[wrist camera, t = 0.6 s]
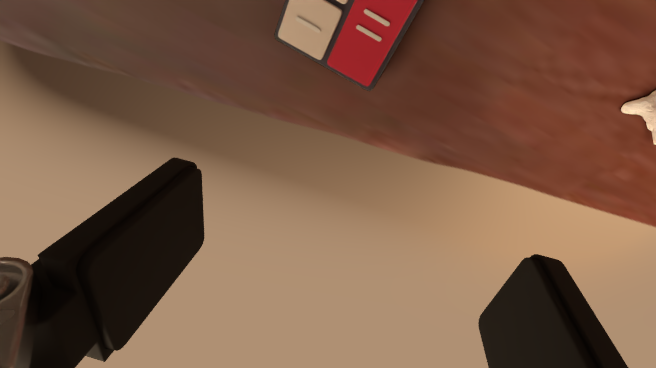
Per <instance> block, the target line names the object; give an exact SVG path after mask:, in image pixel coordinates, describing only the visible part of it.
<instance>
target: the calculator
mask: <svg viewBox="0 0 656 368" xmlns="http://www.w3.org/2000/svg"><path fill="white" fill-rule="evenodd" d="M423 1H424V0H285V3H284V6H283V9H282V12H281V15H280V18H279V21H278V24H277V28H276V31H275V34H274V36H275V39H276V40H277V41H279V42H281V43H283V44H284V45H286V46H288V47H290V48H292V49H293V50H295V51H297V52H299V53H301V54H302V55H304V56H306V57H308V58H310V59H311V60H313V61H315V62H317V63H318V64H320V65H322V66H324V67H326V68H327V69H329V70H331V71H333V72H335V73H336V74H338V75H340V76H342V77H344V78H345V79H347V80H349V81H351V82H352V83H354V84H356V85H358V86H360V87H361V88H363V89H365V90H367V91H371V90H372V89H373V88H374V86H375V85H376V83H377V81H378V79H379V78H380V76H381V74H382V73H383V71H384V69H385V67H386V66H387V64H388V62H389V60H390V59H391V57H392V55H393V53H394V52H395V50H396V48H397V47H398V45H399V43H400V41H401V40H402V38H403V36H404V34H405V33H406V31H407V29H408V27H409V26H410V24H411V22H412V21H413V19H414V17H415V15H416V14H417V12H418V10H419V8H420V7H421V5H422V3H423Z"/></svg>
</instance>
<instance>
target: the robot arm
mask: <svg viewBox="0 0 656 368" xmlns="http://www.w3.org/2000/svg"><path fill="white" fill-rule="evenodd" d="M203 220H204V219H203V195H202V174H201V171H200V169H197V166H196V164H195V163H193V162H190V161H186V160H182V159H179V158H172V159H170V160H169V161H167V162H166V163H165V164H163V165H162V166H161V167H159V168H158V169H156V170H155V171H153V172H152V173H151V174H149V175H148V176H146V177H145V178H144V179H142V180H141V181H140V182H138V183H137V184H135V185H134V186H133V187H131V188H130V189H128V190H127V191H126V192H124V193H123V194H122V195H120V196H119V197H117V198H116V199H115V200H113V201H112V202H110V203H109V204H108V205H106V206H105V207H104V208H102V209H101V210H99V211H98V212H97V213H95V214H94V215H92V216H91V217H90V218H88V219H87V220H86V221H84V222H83V223H81V224H80V225H79V226H77V227H76V228H74V229H73V230H72V231H70V232H69V233H68V234H66V235H65V236H63V237H62V238H60V239H59V240H58V241H56V242H55V243H53V244H52V245H51V246H49V247H48V248H47V249H45V250H44V251H42V252H41V253H40V254H39V255H38V257H39V259H38V260H37V261H36V262H34V263H33V264H31V265H30V264H29V263H28V262H27V261H24V260H22V259H19V258H11V257H3V258H0V368H75V367H76V366H77V365H78V363H79V362H80V361H81V360H82V359H83V358H84V356H88V357H91V358H94V359H97V360H101V361H104V362H105V361H106V360H107V358H108V357H109V356H110V355H111V353H112V352H113V351H114V350H120V349H121V348H122V347H123V346H124V345H125V344H126V343H127V342H128V340H129V339H130V338H131V337H132V335H133V334H134V333H135V331H136V330H137V329H138V328H139V326H140V325H141V324H142V322H143V321H144V320H145V319H146V317H147V316H148V315H149V314H150V312H151V311H152V310H153V308H154V307H155V306H156V305H157V303H158V302H159V301H160V299H161V298H162V297H163V296H164V294H165V293H166V292H167V290H168V289H169V288H170V286H171V285H172V284H173V283H174V281H175V280H176V279H177V278H178V276H179V275H180V274H181V272H182V271H183V270H184V269H185V267H186V266H187V265H188V263H189V262H190V261H191V260H192V258H193V257H194V255H195V254H196V253H197V252H198V251H199V249H200V248H201V246H202V244H203V241H204V221H203ZM479 330H480V334H481V338H482V342H483V346H484V350H485V354H486V358H487V362H488V366H489V368H628V367H627V365H626V364H625V362H624V360H623V359H622V357H621V356H620V354H619V352H618V351H617V349H616V347H615V346H614V344H613V343H612V341H611V339H610V338H609V336H608V335H607V333H606V332H605V330H604V328H603V327H602V325H601V323H600V322H599V320H598V319H597V317H596V316H595V314H594V312H593V311H592V309H591V308H590V306H589V304H588V303H587V301H586V299H585V298H584V296H583V295H582V293H581V291H580V290H579V288H578V287H577V285H576V283H575V282H574V280H573V279H572V277H571V276H570V274H569V272H568V271H567V269H566V267H565V266H564V264H563V263H562V262H561V261H559V260H556V259H553V258H549V257H545V256H542V255H538V254H534V255H532V256H531V257H530V258H524V259H523V260H522V261H521V263H520V264H519V266H518V267H517V268H516V269H515V271H514V272H513V273H512V275H511V276H510V277H509V279H508V280H507V281H506V283H505V284H504V285H503V286H502V288H501V289H500V291H499V292H498V293H497V294H496V296H495V297H494V298H493V300H492V301H491V302H490V303H489V305H488V306H487V307H486V309H485V310H484V311H483V313H482V314H481V316H480V318H479Z"/></svg>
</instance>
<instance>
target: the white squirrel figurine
mask: <svg viewBox="0 0 656 368" xmlns="http://www.w3.org/2000/svg"><path fill="white" fill-rule="evenodd" d="M621 111H622V112H623V113H626V114H636V115H640V116H642V117H643V119H644V120H645V121H646V125H647V128H648V129H649V130H651V131H652V135H653V143H654V144H655V145H656V90H655V91H654V92H652V93H651V94H650V95H649V96H647V97H643V98H640V99H638V100H634V101H630V102H627V103H625V104H624V105H623V106H622V108H621Z"/></svg>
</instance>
